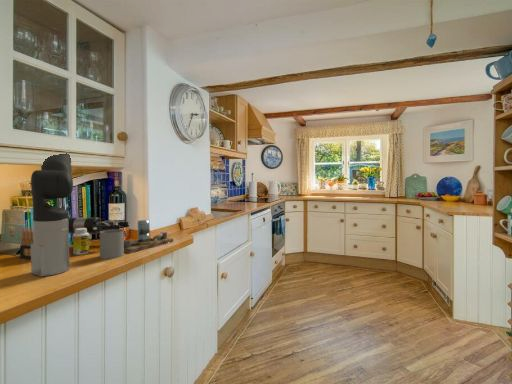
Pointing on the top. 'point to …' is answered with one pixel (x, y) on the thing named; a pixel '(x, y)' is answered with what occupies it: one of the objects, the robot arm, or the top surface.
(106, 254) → the cup
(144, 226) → the universal joint
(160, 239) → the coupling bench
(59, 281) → the top surface
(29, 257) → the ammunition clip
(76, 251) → the supplement bottle
